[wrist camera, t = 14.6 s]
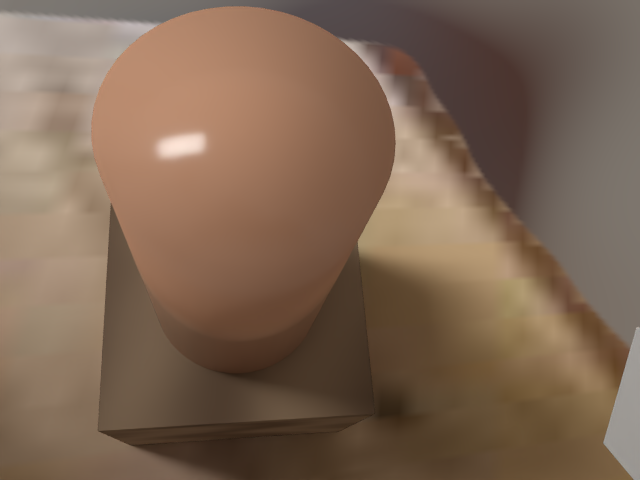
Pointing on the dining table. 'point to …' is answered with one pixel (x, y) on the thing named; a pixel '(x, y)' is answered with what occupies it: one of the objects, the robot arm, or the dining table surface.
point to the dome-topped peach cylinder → (241, 175)
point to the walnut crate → (227, 388)
